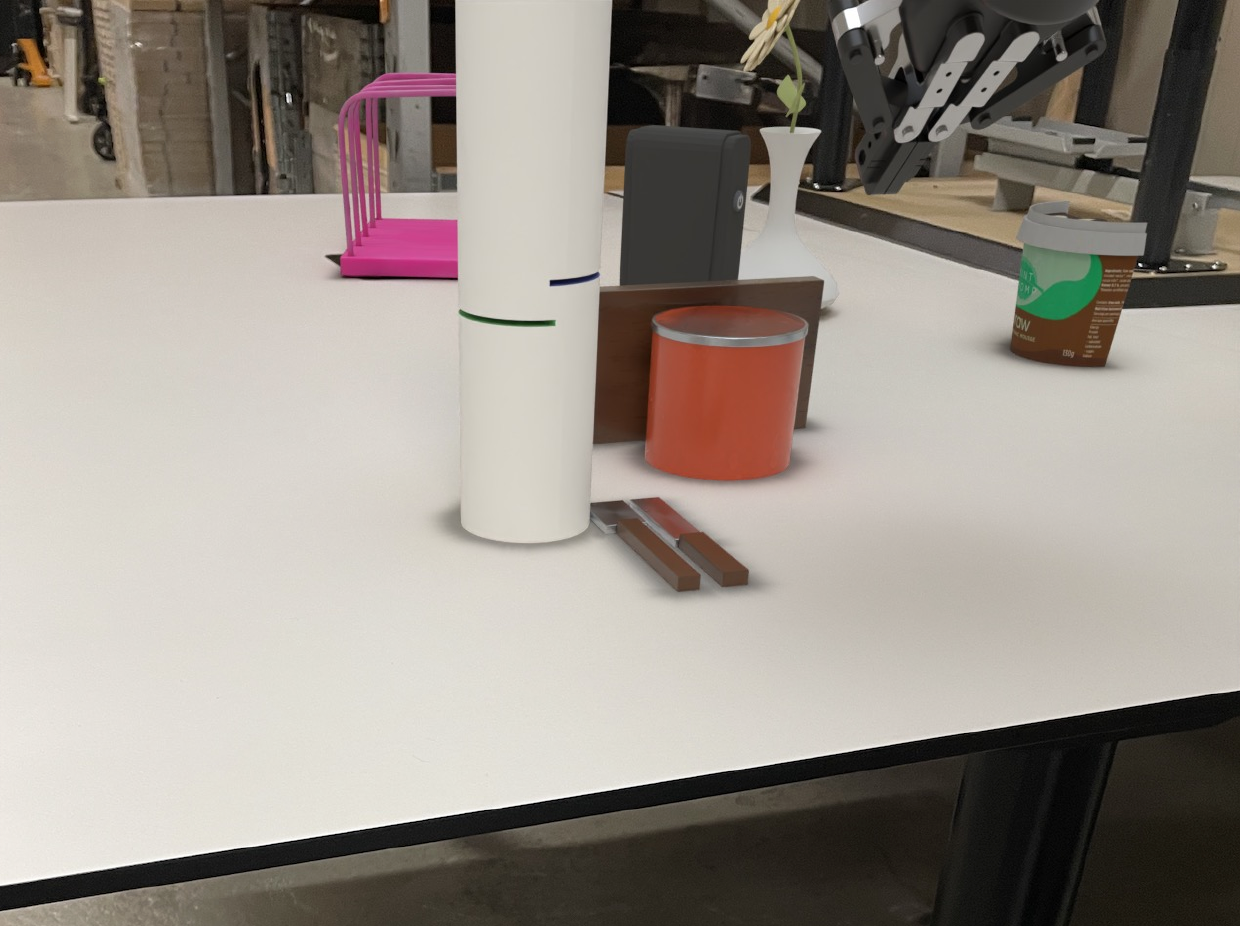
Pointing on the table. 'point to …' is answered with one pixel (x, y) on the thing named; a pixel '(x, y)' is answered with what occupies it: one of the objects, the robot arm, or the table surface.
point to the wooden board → (631, 340)
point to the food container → (1072, 284)
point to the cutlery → (676, 532)
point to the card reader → (683, 205)
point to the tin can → (723, 391)
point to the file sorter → (382, 239)
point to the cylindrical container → (529, 260)
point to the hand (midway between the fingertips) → (875, 178)
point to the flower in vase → (783, 170)
